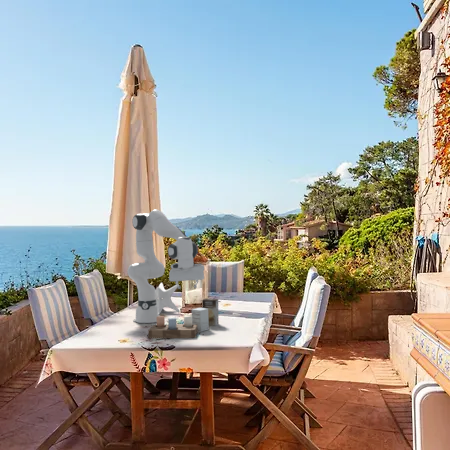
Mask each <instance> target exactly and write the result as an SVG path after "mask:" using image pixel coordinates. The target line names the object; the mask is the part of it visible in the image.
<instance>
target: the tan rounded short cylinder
mask: <svg viewBox="0 0 450 450" xmlns="http://www.w3.org/2000/svg"><path fill="white" fill-rule="evenodd" d="M165 322H166V319H165V316H164V315H159V316H157V322H156V325H157V327H165V325H166V324H165Z"/></svg>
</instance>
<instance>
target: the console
mask: <svg viewBox="0 0 450 450" xmlns="http://www.w3.org/2000/svg"><path fill="white" fill-rule="evenodd" d="M147 332H148V334H147V335H148V339H195V338H196V336H197V334H198V332H199V331H198V324H192V327H184V324H177V330H168V324H165V327H157V324H153V325H152V326H151V327H150V328H149V329H148V331H147Z"/></svg>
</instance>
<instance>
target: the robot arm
mask: <svg viewBox="0 0 450 450" xmlns="http://www.w3.org/2000/svg"><path fill="white" fill-rule="evenodd" d="M132 226H133V229H135V230H136V232H135V233H136V234H135V247H136V254H137V255H138V256H139V257H141V258H142V259H143V260H144V262H135V263H132V264H129V266H128V268H127V271H126V272H127V276H128V277H129V279H131V280H132V281H133V282H134V284H135V285H136V288H137V293H138V294H137V295H138V300H137V307H136V308H135V319H133V320H132V321H133V323H134V322H135V323H138V324H151V323H157V316H160V314H158V308H157V306H156V299H155V290H156V288H155V287H154V285H152V284H150V283H149V279H157V278H160V277H163V275H164V274H165V268H166V267H165V266H164V264H163V263H162V262H161V261H160V260H159V259H158V258H157V255H156V254H155V250H154V239H153V232H154V233H155V234H157V235H158V236H159V237H163V238H171V239H174V240H176V241H175V242H173V243H171V244H170V245H169V246H168V248H167V254H168V256H169V258H170V259H172V260H177V262H174V263H173V264H172V263H171V265H170V270H169V275H168V276H169V277H168V280H169V282H175V285H177V286H178V287H177V290H181V288H182V287H181V285H178V284H179V282H183V281H184V282H185V281H186V282H187V281H195V284H194V286H193V288H194V289H197V288H198V287H197V285H198V283H199V281H201V280H204V279H205V273H204V271H205V265H204V264H202V263H194V259H195V258H196V257H197V255H198V252H199V249H198V246H197V244H196V243H195V242H194V241H192V238H191V237H189V236H187V235H186V234H185V233H184V232H183V231H182V230H181V229H180V228H179V227H178V226H176V225H174V224H173V223H172V222H171V221H170V220H169V219H168V218H167V215H165V214H164V212H163V211H161V210H159V209H152V210H151V211H150V212H147V213H137V214H135V215H134V216H132Z"/></svg>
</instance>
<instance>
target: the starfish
mask: <svg viewBox="0 0 450 450" xmlns="http://www.w3.org/2000/svg"><path fill="white" fill-rule="evenodd" d="M178 285H179V283H178ZM179 286H180V285H179ZM177 290H178V286H177V285H176V284H175V285H173V286H172V287H170V288H168V289H165V287H164V284H163V282H160V284H159V285H158V286H156V288H155V299H156V306H157V308H158V314H159V315H161V313H162V310H163V309H164V308H169V309H171V310H173V311H176V312H180V309H179V308H178V307H177V305H176V304H175V303H174V302H173V301H172V296H173V294H174V292H175V291H177Z"/></svg>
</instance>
